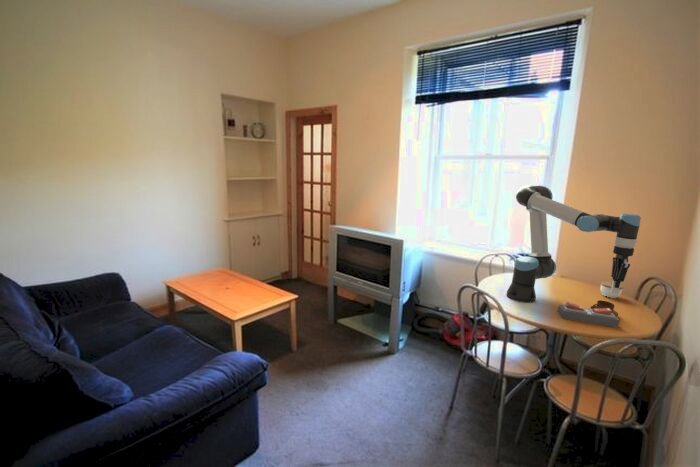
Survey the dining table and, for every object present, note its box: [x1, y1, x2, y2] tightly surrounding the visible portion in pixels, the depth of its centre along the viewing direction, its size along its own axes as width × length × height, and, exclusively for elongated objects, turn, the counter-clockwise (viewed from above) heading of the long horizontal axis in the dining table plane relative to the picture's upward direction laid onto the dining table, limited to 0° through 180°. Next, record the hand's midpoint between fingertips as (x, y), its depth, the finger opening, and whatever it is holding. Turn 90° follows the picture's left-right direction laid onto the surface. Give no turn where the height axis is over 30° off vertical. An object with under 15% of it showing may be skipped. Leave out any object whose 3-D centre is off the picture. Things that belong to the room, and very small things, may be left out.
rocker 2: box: [593, 308, 612, 314], centre depth 170 cm, size 7×4×1 cm, turn 71°
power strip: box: [557, 303, 620, 329], centre depth 172 cm, size 24×9×5 cm, turn 72°
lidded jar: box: [600, 281, 624, 299], centre depth 206 cm, size 11×11×9 cm
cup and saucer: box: [590, 300, 619, 317], centre depth 180 cm, size 12×12×6 cm
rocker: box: [565, 301, 584, 311], centre depth 173 cm, size 7×4×1 cm, turn 72°
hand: (614, 293), depth 167 cm, fingers closed
